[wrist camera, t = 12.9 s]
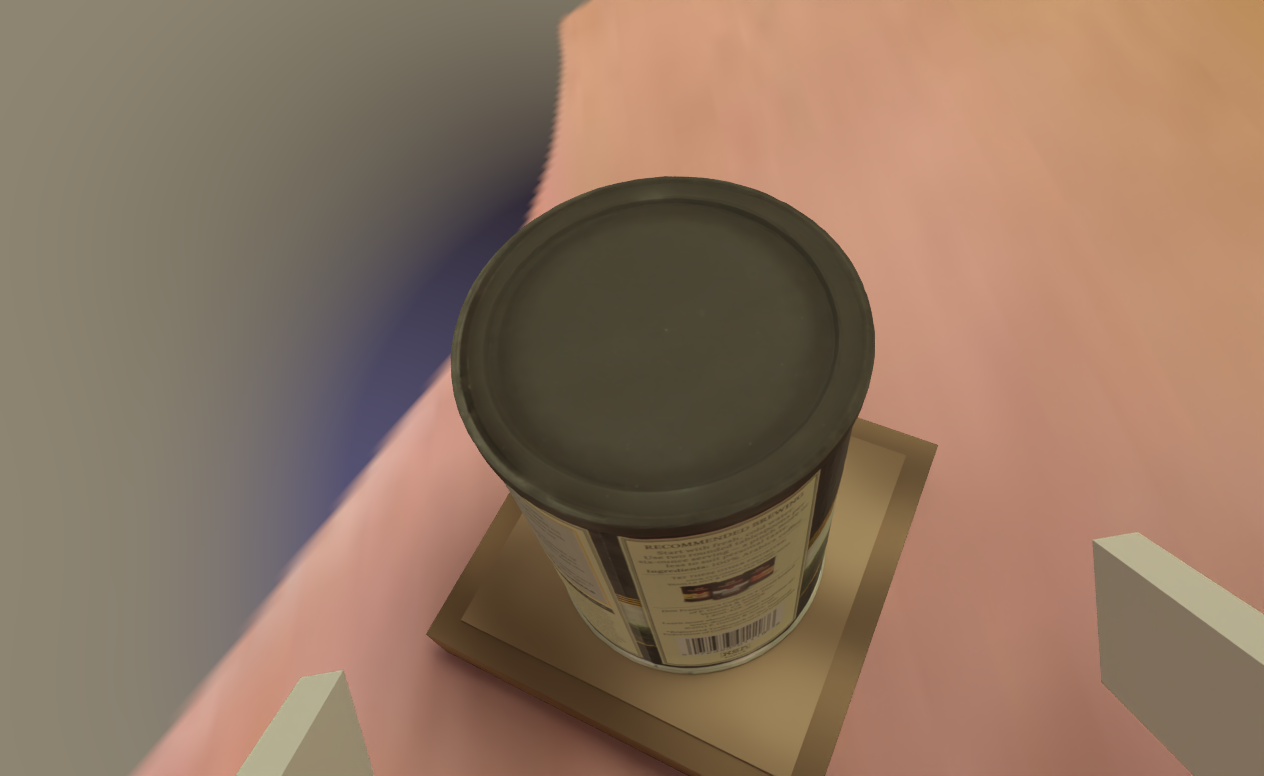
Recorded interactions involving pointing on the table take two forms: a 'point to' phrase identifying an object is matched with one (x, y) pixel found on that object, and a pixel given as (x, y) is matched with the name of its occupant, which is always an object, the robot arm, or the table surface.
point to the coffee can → (671, 408)
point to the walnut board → (717, 701)
